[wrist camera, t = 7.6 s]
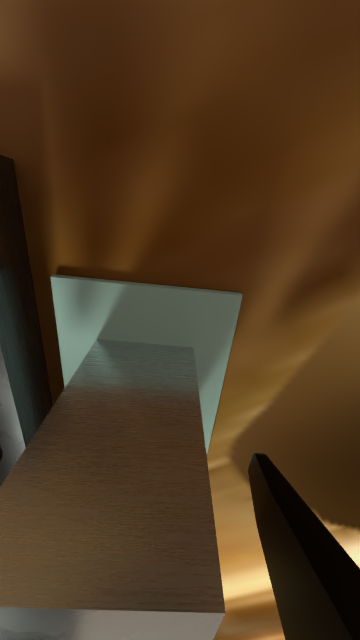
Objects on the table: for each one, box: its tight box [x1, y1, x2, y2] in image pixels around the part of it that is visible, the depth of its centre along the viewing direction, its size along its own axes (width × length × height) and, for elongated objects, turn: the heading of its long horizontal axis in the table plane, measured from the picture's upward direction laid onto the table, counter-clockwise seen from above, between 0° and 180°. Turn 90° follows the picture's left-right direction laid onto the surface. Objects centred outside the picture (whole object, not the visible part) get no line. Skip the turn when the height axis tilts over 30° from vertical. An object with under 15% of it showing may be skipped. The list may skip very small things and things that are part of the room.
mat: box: [50, 275, 243, 453], centre depth 12 cm, size 10×8×1 cm
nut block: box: [0, 339, 225, 640], centre depth 8 cm, size 4×4×8 cm
